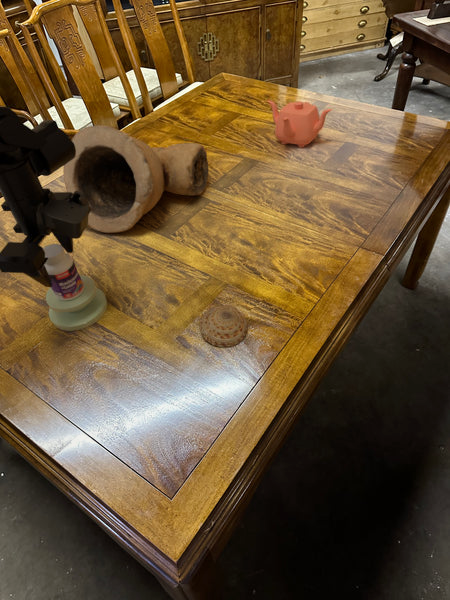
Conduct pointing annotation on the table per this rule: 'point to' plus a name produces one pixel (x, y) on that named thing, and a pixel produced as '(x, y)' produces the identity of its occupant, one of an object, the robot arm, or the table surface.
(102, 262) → the table surface
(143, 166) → the pipe
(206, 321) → the seashell
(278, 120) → the teapot
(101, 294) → the stand
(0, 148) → the robot arm
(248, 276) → the table surface
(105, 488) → the table surface
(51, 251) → the pill bottle
